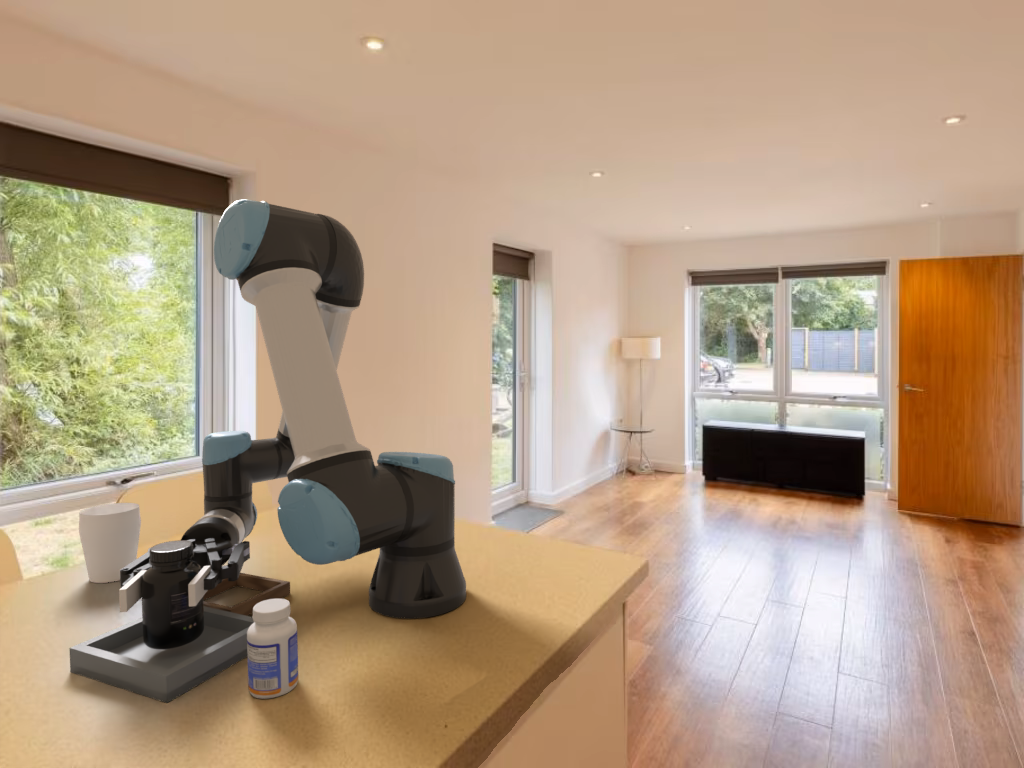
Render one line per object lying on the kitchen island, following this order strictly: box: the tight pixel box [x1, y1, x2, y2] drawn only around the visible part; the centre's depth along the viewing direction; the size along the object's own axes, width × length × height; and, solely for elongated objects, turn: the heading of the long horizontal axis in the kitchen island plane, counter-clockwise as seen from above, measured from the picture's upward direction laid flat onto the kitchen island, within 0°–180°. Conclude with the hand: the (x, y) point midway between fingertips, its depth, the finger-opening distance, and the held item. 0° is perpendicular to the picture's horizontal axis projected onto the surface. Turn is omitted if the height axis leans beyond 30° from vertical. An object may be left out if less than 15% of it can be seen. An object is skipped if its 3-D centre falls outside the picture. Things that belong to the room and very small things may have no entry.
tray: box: [68, 606, 254, 704], centre depth 76 cm, size 17×15×3 cm
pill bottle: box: [247, 598, 299, 700], centre depth 69 cm, size 5×5×10 cm
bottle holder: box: [203, 572, 291, 616], centre depth 93 cm, size 12×12×2 cm
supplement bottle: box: [141, 539, 204, 649], centre depth 76 cm, size 7×7×12 cm
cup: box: [78, 502, 142, 584], centre depth 104 cm, size 9×9×12 cm
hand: (158, 597), depth 71 cm, fingers closed on supplement bottle, 7 cm apart
